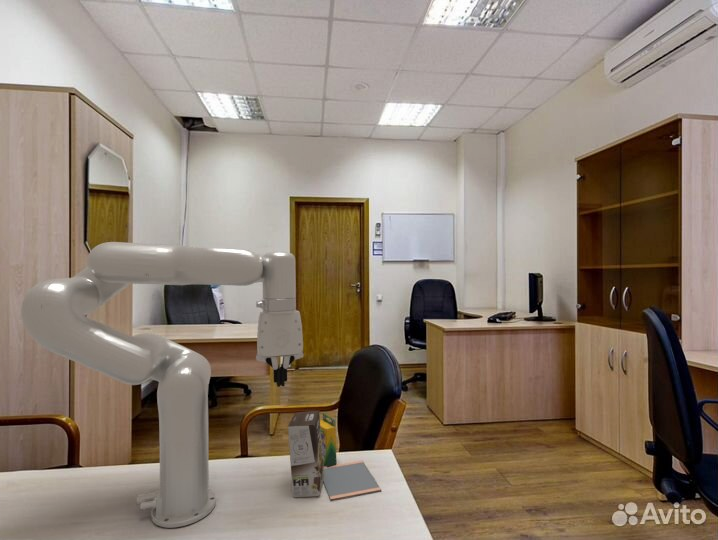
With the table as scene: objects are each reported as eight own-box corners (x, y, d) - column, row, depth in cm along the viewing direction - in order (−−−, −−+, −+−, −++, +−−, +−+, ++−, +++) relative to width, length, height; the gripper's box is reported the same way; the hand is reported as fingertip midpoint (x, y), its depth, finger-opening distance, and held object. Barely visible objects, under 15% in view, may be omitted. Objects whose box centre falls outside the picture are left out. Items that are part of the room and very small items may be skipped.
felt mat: (330, 501, 83) (330, 499, 83) (318, 469, 96) (318, 467, 96) (381, 491, 87) (381, 489, 87) (362, 462, 100) (362, 460, 100)
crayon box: (314, 457, 102) (313, 414, 103) (323, 455, 104) (323, 412, 105) (326, 467, 96) (326, 421, 97) (336, 464, 98) (336, 419, 98)
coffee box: (320, 496, 84) (315, 424, 84) (292, 498, 84) (286, 426, 84) (325, 474, 93) (320, 409, 93) (299, 476, 93) (294, 411, 93)
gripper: (245, 308, 81) (246, 393, 81) (314, 305, 85) (315, 386, 85) (245, 305, 88) (246, 383, 88) (308, 303, 92) (309, 377, 92)
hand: (280, 384), depth 87 cm, fingers closed
